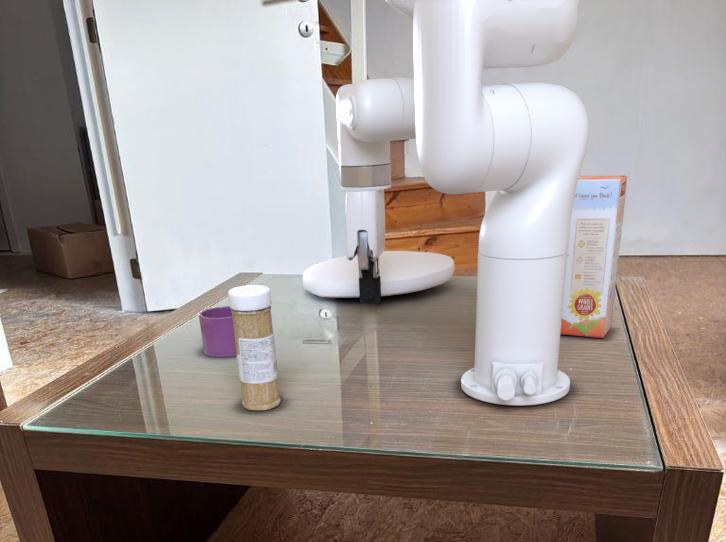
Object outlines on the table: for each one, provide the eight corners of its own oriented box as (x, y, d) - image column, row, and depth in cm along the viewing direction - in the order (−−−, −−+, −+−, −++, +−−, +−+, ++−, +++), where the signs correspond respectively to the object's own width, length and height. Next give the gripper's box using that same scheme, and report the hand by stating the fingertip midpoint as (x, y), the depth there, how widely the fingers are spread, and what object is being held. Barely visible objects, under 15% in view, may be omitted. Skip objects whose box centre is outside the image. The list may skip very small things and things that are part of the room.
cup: (243, 357, 101) (239, 318, 99) (197, 357, 102) (191, 318, 100) (257, 343, 107) (253, 306, 105) (213, 343, 108) (208, 306, 106)
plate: (294, 282, 121) (304, 254, 145) (302, 320, 124) (310, 287, 148) (462, 256, 120) (444, 232, 143) (465, 295, 122) (447, 266, 146)
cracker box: (611, 328, 106) (630, 173, 97) (603, 340, 102) (621, 178, 92) (517, 320, 112) (526, 174, 103) (505, 331, 107) (513, 178, 98)
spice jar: (250, 397, 87) (236, 283, 81) (286, 398, 86) (275, 283, 80) (236, 411, 83) (220, 292, 77) (274, 413, 82) (261, 293, 76)
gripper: (349, 175, 115) (355, 292, 123) (330, 183, 102) (338, 314, 110) (397, 173, 114) (399, 291, 122) (383, 182, 100) (387, 314, 109)
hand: (370, 302), depth 116 cm, fingers closed
